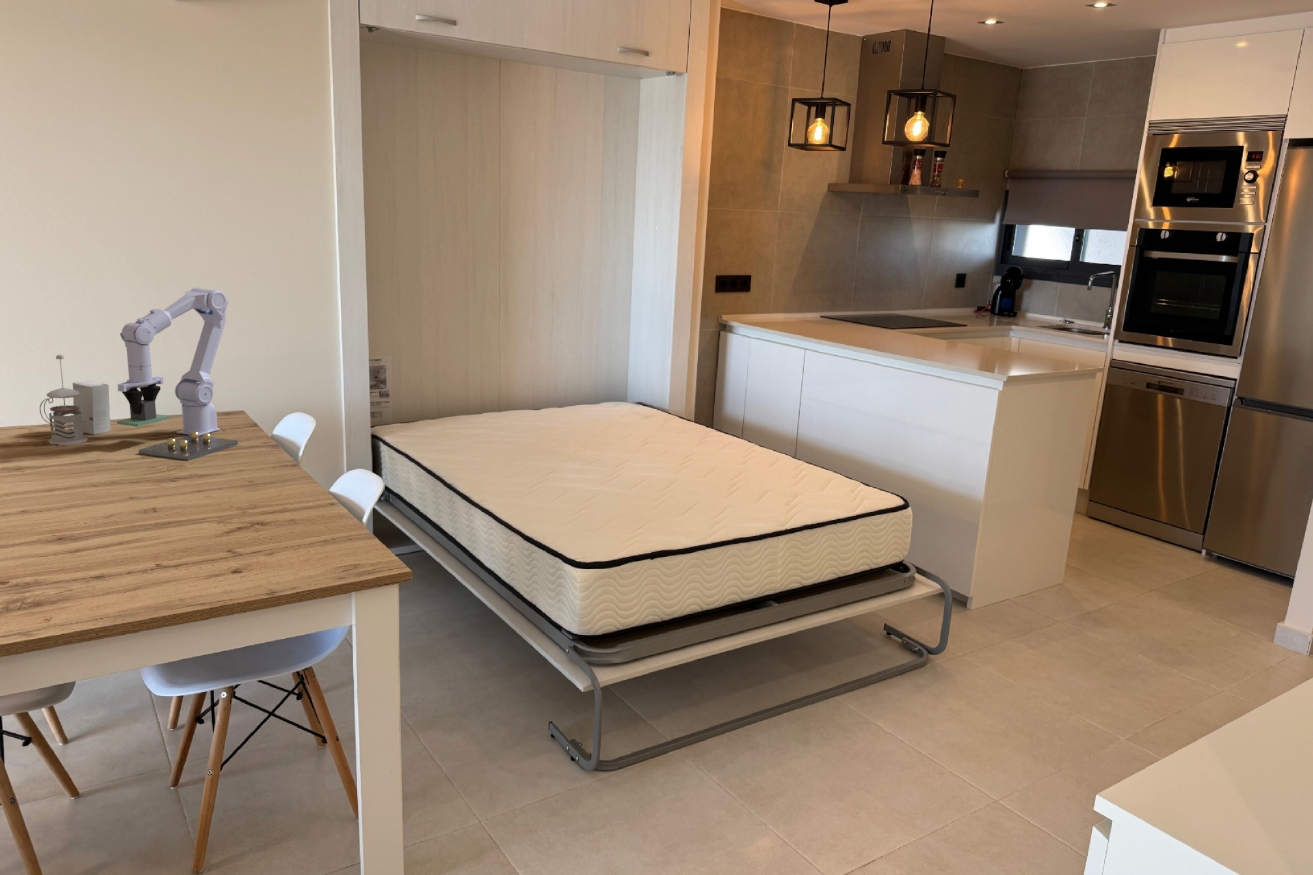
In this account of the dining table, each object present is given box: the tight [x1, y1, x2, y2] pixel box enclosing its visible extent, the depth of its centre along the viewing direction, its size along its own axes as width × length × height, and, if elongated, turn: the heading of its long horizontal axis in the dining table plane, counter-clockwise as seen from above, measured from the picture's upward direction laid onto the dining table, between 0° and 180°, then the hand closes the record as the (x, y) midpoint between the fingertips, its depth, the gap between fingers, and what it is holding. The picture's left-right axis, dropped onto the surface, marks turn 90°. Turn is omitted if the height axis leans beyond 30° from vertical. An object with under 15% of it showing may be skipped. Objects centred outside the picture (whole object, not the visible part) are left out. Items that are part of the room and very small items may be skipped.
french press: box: [39, 354, 89, 446], centre depth 255 cm, size 10×12×25 cm
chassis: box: [138, 432, 239, 461], centre depth 257 cm, size 20×16×4 cm
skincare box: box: [72, 380, 111, 435], centre depth 268 cm, size 8×6×15 cm
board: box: [116, 399, 171, 428], centre depth 258 cm, size 12×7×6 cm, turn 166°
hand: (143, 412), depth 258 cm, fingers closed on board, 4 cm apart
